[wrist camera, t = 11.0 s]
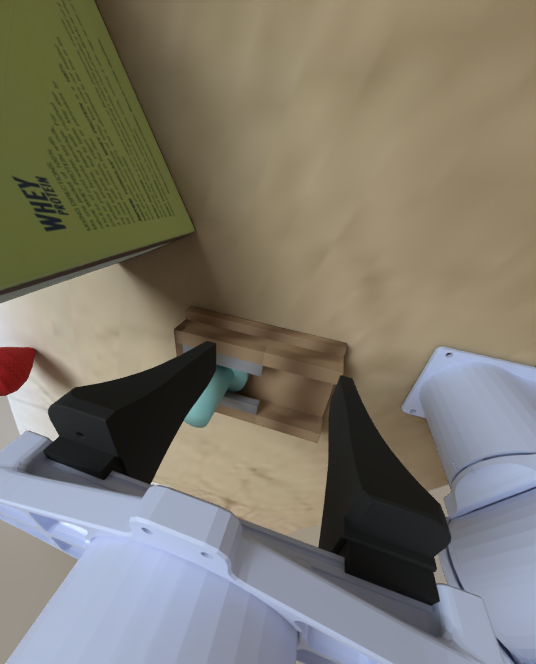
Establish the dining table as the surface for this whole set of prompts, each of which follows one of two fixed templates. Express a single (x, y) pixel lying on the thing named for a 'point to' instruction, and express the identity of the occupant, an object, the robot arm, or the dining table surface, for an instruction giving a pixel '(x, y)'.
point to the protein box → (73, 151)
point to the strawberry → (14, 368)
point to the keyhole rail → (269, 370)
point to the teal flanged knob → (215, 394)
